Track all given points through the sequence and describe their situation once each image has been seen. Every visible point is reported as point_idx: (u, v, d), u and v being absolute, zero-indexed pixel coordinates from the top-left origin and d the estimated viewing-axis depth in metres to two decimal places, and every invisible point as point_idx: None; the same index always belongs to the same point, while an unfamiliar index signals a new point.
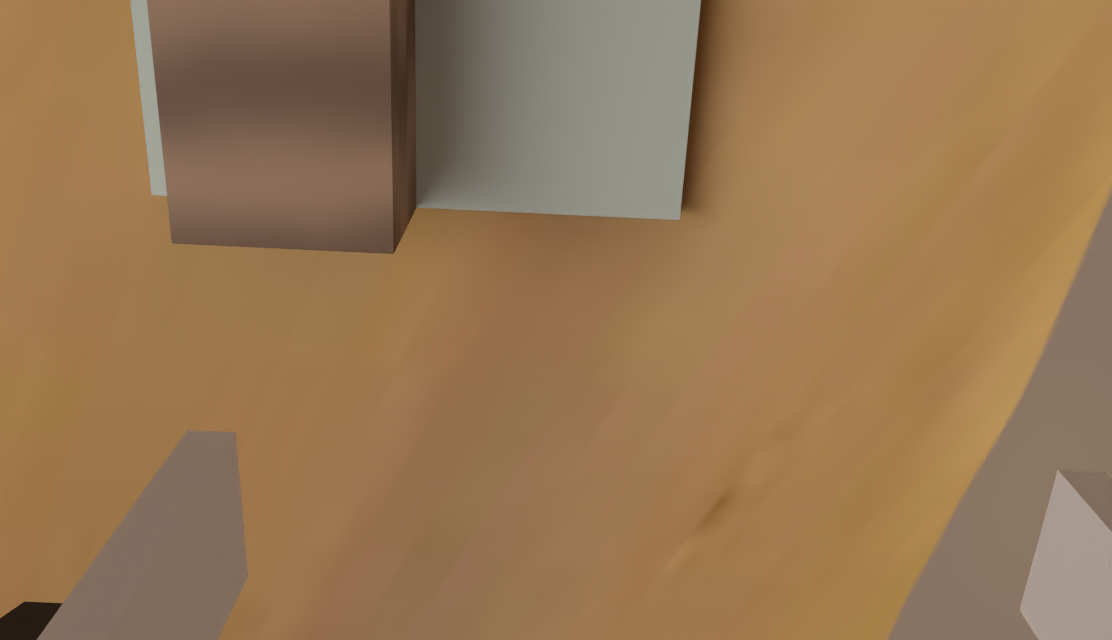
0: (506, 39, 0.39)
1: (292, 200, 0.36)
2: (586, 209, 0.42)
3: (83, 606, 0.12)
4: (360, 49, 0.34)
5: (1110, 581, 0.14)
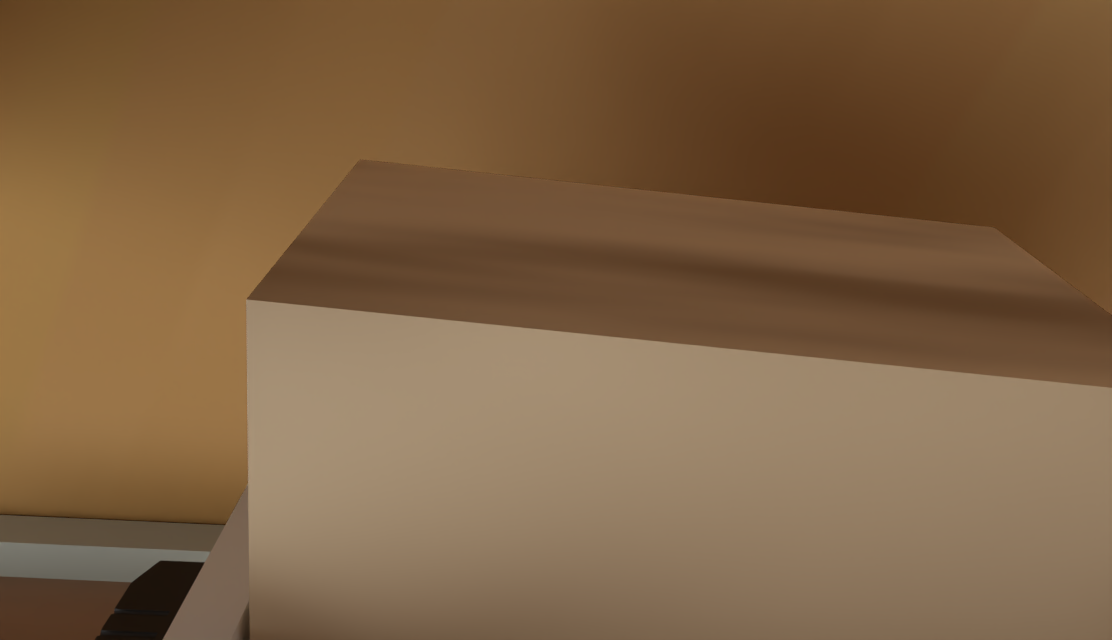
0: None
1: None
2: None
3: (226, 561, 0.13)
4: None
5: None
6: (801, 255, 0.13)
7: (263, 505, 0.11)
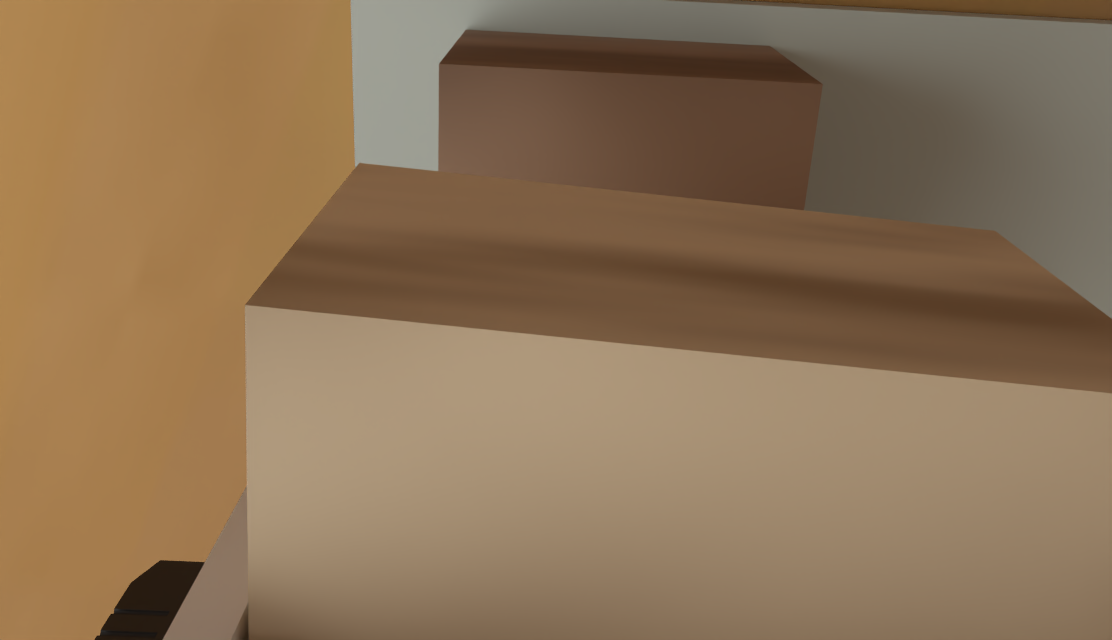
0: None
1: None
2: None
3: (226, 561, 0.13)
4: None
5: None
6: (801, 259, 0.13)
7: (262, 511, 0.11)
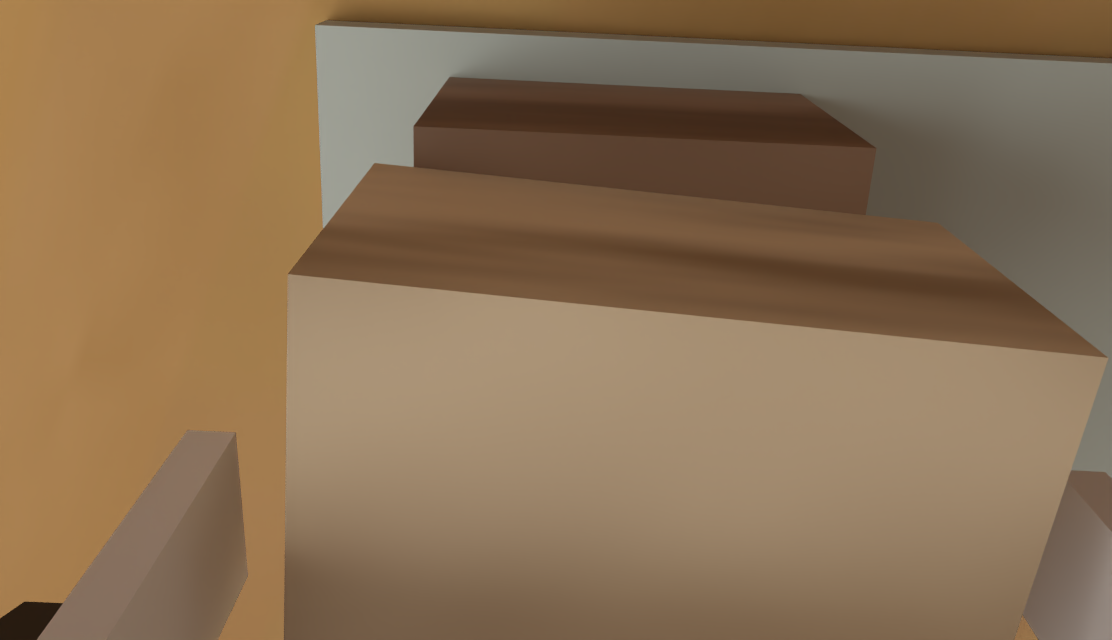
0: None
1: None
2: None
3: (83, 606, 0.12)
4: None
5: (1110, 581, 0.14)
6: (761, 244, 0.15)
7: (298, 452, 0.13)
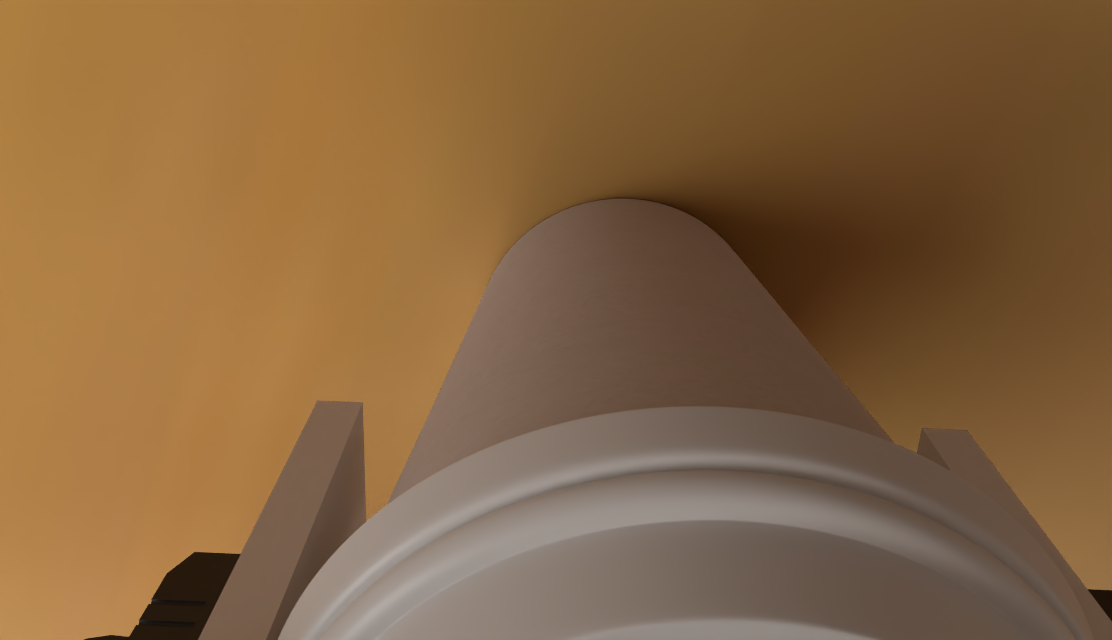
0: None
1: None
2: None
3: (261, 552, 0.13)
4: None
5: None
6: None
7: None
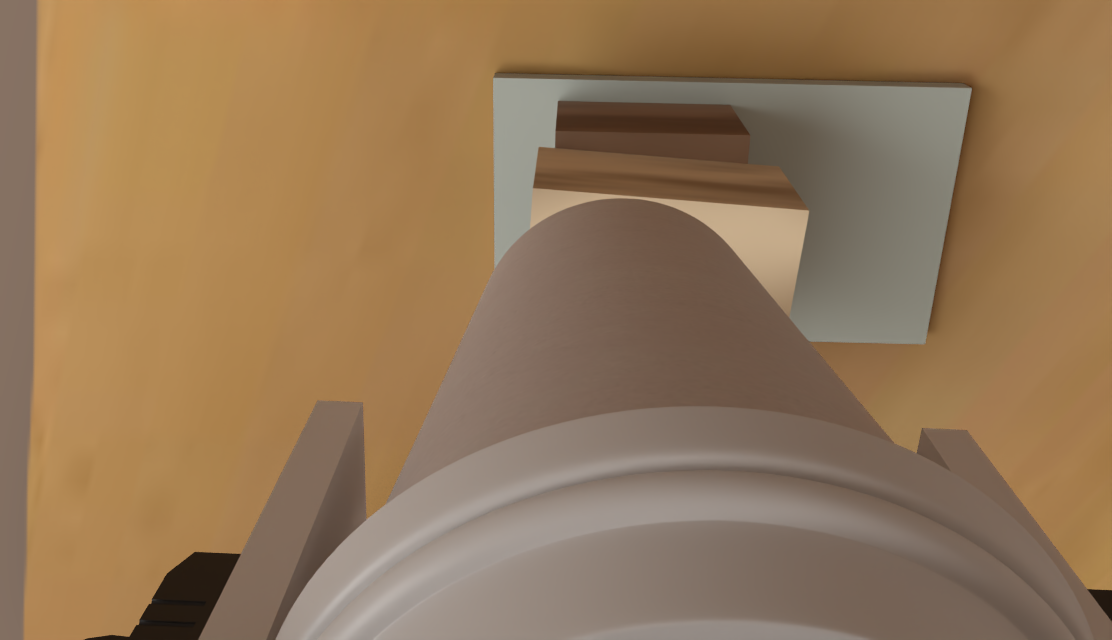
0: None
1: None
2: (849, 337, 0.52)
3: (262, 552, 0.13)
4: None
5: None
6: (698, 176, 0.39)
7: None
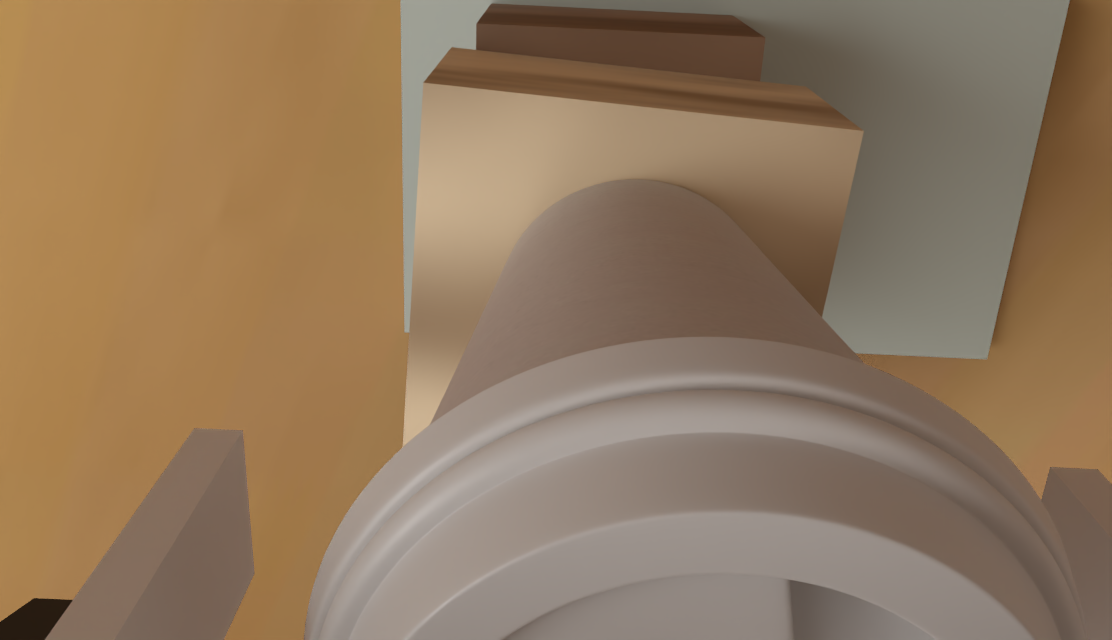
0: None
1: None
2: (885, 348, 0.38)
3: (92, 602, 0.12)
4: None
5: (1102, 577, 0.14)
6: (687, 87, 0.26)
7: (424, 187, 0.23)
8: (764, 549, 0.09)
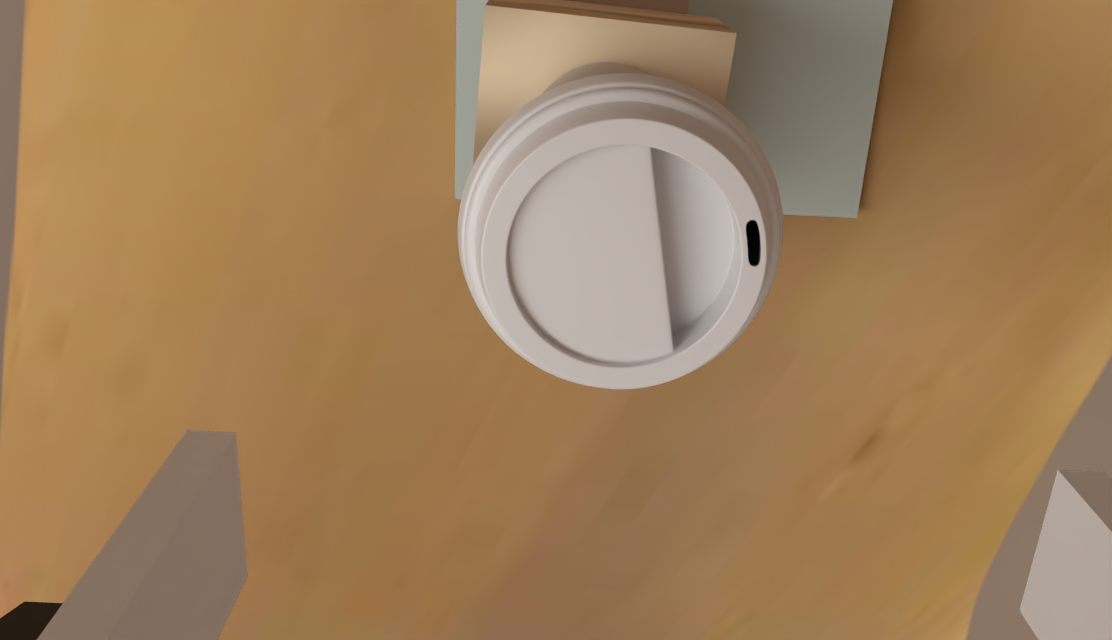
0: (736, 82, 0.53)
1: None
2: (786, 209, 0.55)
3: (82, 606, 0.12)
4: None
5: (1110, 581, 0.14)
6: (639, 14, 0.43)
7: (484, 67, 0.41)
8: (639, 134, 0.26)
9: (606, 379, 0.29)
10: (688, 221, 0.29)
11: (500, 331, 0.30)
